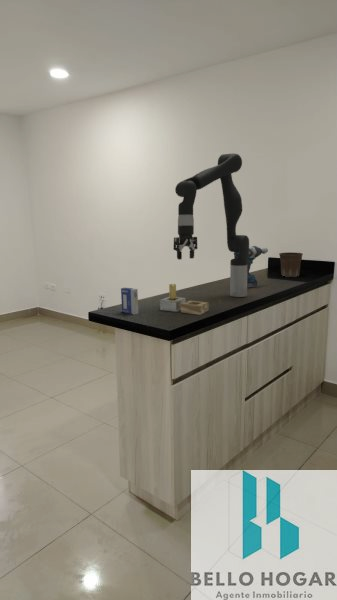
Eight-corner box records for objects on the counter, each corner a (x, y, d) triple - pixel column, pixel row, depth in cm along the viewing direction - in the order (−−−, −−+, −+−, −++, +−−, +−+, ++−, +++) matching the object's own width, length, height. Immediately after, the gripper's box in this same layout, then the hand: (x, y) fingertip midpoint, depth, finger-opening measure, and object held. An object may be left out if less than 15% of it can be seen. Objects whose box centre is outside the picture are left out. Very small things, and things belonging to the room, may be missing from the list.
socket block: (169, 306, 207) (169, 296, 205) (185, 307, 202) (185, 298, 201) (160, 309, 199) (160, 299, 198) (176, 311, 194) (176, 301, 193)
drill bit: (171, 307, 203) (171, 283, 200) (177, 308, 201) (177, 284, 198) (168, 309, 200) (167, 284, 197) (174, 309, 198) (173, 285, 196)
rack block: (190, 308, 201) (190, 300, 200) (208, 310, 195) (208, 302, 195) (180, 312, 193) (180, 304, 192) (199, 314, 188) (199, 306, 187)
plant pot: (293, 278, 282) (294, 255, 278) (273, 276, 294) (274, 253, 290) (306, 276, 292) (307, 253, 289) (286, 273, 304) (287, 252, 301)
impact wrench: (269, 286, 255) (270, 245, 250) (237, 289, 247) (238, 247, 242) (262, 284, 262) (263, 244, 257) (231, 287, 254) (231, 246, 249)
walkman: (121, 312, 195) (120, 287, 193) (125, 311, 198) (124, 286, 195) (134, 314, 191) (133, 289, 189) (138, 313, 193) (137, 288, 191)
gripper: (190, 224, 203) (190, 257, 206) (169, 224, 193) (169, 259, 196) (201, 224, 198) (201, 258, 201) (181, 224, 188) (181, 260, 191)
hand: (185, 258), depth 198 cm, fingers open, 8 cm apart
